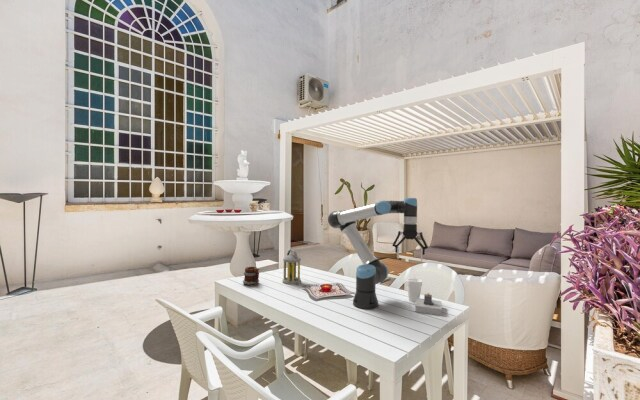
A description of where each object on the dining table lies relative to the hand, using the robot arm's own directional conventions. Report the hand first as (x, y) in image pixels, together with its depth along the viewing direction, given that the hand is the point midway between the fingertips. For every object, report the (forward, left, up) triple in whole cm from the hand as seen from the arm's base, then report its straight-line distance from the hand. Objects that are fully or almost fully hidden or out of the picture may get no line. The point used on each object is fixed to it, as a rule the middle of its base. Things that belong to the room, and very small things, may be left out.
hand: (409, 259), depth 180 cm
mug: (-112, +4, -29) cm, 116 cm away
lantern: (-88, +21, -29) cm, 95 cm away
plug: (+11, +1, -28) cm, 30 cm away
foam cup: (+2, +14, -29) cm, 32 cm away
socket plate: (+11, +1, -29) cm, 31 cm away
